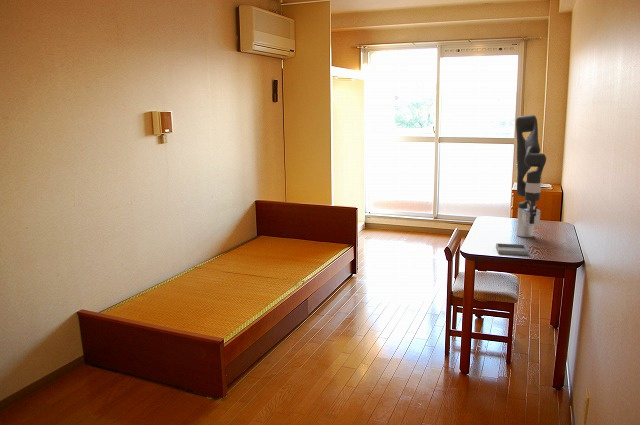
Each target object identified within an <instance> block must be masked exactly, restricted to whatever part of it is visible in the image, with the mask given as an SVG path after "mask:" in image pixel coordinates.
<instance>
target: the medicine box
mask: <svg viewBox="0 0 640 425" xmlns="http://www.w3.org/2000/svg"><path fill="white" fill-rule="evenodd" d="M532 214H534V213H532ZM529 221H530V212H529V209H523V214H522V225H524V226H533V227H538V226H540V222H541V210H540V209H538V208H537V210H536V216H535V217H534V224H530V223H529Z"/></svg>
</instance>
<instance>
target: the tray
mask: <svg viewBox="0 0 640 425" xmlns="http://www.w3.org/2000/svg"><path fill="white" fill-rule="evenodd" d="M495 248H496V251H497V254H498V255H507V256H508V255H509V256H527V257H529V254H530V253H529V250H528V248H527V246H526V245H525V244H521V243H519V244H517V243H497V242H496V243H495Z"/></svg>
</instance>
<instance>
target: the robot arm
mask: <svg viewBox="0 0 640 425" xmlns="http://www.w3.org/2000/svg"><path fill="white" fill-rule="evenodd" d="M515 130H516V131H515V132H516V134H515V135H516V145H517V146H516V165H517V166H516V168H517V169H516V170H517V177H516V178H517V179H516V180H517V182H516V194H517V196H518V197H521V198H522V197H523V198H524V201H520V202H518V206H517V207H518V208H517V220H516V222H517V224H516V236H518V237H522V238H532V237H533V234H534V226H524V225H522V214H523V209H529V212H530V221H529V223H530V224H534V217H535V216H536V210H537V209H538V208H537V207H538V206H537V203H536V202H538V201H540V200H541V191H542V190H541V189H542V186H541V185H542V184H541V183H542V182H541V181H542V174H543V170H544V167H545V165H546V162H547V156H546V154H545V153H541V148H540V144H539V143H540V142H539V129H538V119H537V116H536V115H535V114H528V115H520V116H517V117H516V120H515ZM523 133H529V135H528V136H527V137H526V139H525V137H524V135H523ZM534 167H535V168H536V169H535V170H531V171H530V169H531V168H534ZM525 177H526V181H525V180H524V178H525ZM532 213H534V214H532Z"/></svg>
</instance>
